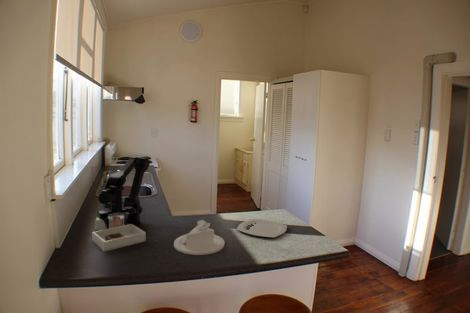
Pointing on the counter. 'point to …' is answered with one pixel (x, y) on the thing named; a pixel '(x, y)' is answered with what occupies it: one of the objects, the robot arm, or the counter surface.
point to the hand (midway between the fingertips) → (116, 228)
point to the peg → (116, 221)
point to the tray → (130, 233)
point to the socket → (113, 236)
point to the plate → (263, 228)
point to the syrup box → (101, 225)
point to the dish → (199, 241)
